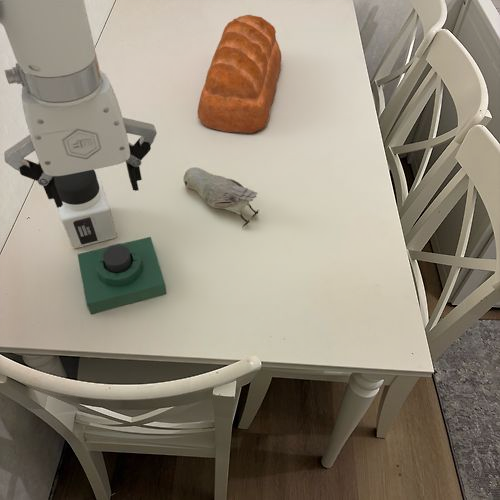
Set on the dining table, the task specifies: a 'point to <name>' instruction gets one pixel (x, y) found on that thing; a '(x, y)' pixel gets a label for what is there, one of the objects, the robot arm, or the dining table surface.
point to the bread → (241, 77)
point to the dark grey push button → (117, 258)
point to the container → (85, 209)
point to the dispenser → (121, 277)
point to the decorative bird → (220, 191)
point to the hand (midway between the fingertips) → (97, 191)
